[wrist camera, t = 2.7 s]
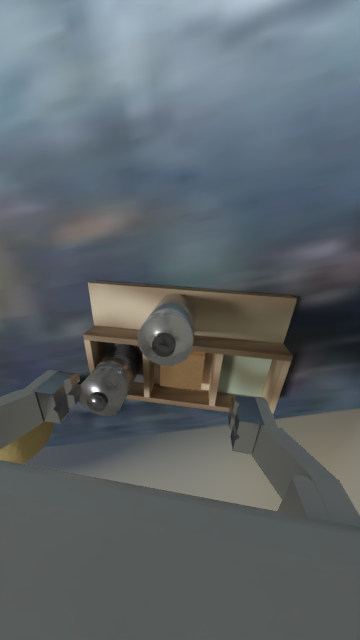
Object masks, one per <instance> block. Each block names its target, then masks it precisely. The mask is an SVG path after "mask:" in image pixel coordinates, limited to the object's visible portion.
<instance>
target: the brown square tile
mask: <svg viewBox="0 0 360 640" xmlns="http://www.w3.org/2000/svg"><path fill="white" fill-rule="evenodd" d="M204 360H205V353H204V352H195V351H192V352H191V354H190V355H189V357H188V358H187V359H186V360H185V361H183V362H182V363H179V364H177V365H173V366H163V365H160V386H166V387H174V388H182V389H190V390H198V391H201V385H202V377H203V369H204Z"/></svg>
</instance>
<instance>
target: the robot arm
mask: <svg viewBox="0 0 360 640" xmlns="http://www.w3.org/2000/svg"><path fill="white" fill-rule="evenodd" d="M79 381H80V378H79V375H78V374H75V373H69V372H63V371H55V370H49V371H47V372H45V373H44V374H43V375H42V376H40V377H39V378H38V379H36V380H35V381H34V382H32V383H31V384H30V385H28V386H27V387H26V388H25V389H23V390H18V391H15V392H13V393H10V394H7V395H5V396H2V397H0V450H1V449H2V448H4V447H5V446H7V445H9V444H10V443H12V442H13V441H15V440H16V439H18V438H20V437H21V436H23V435H24V434H26V433H27V432H29V431H31V430H32V429H34V428H35V427H37V426H38V425H40V424H42V423H43V422H44V421H46V422H54V423H61V422H62V420H63V419H64V418H65V417H66V416H67V414H68V413H69V411H70V408H71V407H73V406H74V405H76V404H77V402H78V401H79V399H80V397H81V393H82V388H81V386H80V385H79V384H78V382H79ZM231 403H232V406H231V407H230V408H229V418H228V419H229V428H230V429H231V430H232V433H231V443H232V449H233V451H236V452H241V453H246V454H251V455H252V456H253V458H254V459H255V461H256V462H257V463H258V465H259V467H260V468H261V469H262V471H263V472H264V474H265V475H266V477H267V478H268V480H269V481H270V483H271V484H272V485H273V487H274V488H275V490H276V491H277V493H278V494H279V495H280V497H281V498H282V502H281V504H280V506H279V509H278V511H272V510H267V509H261V508H256V507H251V506H245V505H240V504H235V503H229V502H224V501H218V500H213V499H208V498H203V497H197V496H192V495H186V494H181V493H175V492H170V491H165V490H159V489H154V488H149V487H143V486H138V485H133V484H127V483H122V482H117V481H111V480H106V479H100V478H95V477H89V476H84V475H79V474H74V473H68V472H63V471H57V470H52V469H47V468H41V467H36V466H30V465H25V464H20V463H15V462H9V461H4V460H0V640H360V516H359V514H358V512H357V510H356V509H355V507H354V505H353V503H352V502H351V500H350V498H349V497H348V495H347V493H346V491H345V490H344V488H343V486H342V485H341V483H340V481H339V480H338V479H336V477H334V476H333V475H332V474H331V473H330V472H329V471H328V470H327V469H326V468H325V467H323V466H322V465H321V464H320V463H319V462H318V461H317V460H316V459H315V458H314V457H313V456H311V455H310V454H309V453H308V452H307V451H306V450H305V449H304V448H303V447H301V445H299V444H298V443H297V442H296V441H295V440H294V439H293V438H292V437H291V436H290V435H288V434H287V433H286V432H285V431H284V430H283V429H282V428H279V427H277V424H276V422H275V419H274V417H273V415H272V412H271V410H270V408H269V405H268V403H267V400H266V399H265V398H262V397H252V396H244V395H236V394H233V395H232V398H231Z"/></svg>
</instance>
